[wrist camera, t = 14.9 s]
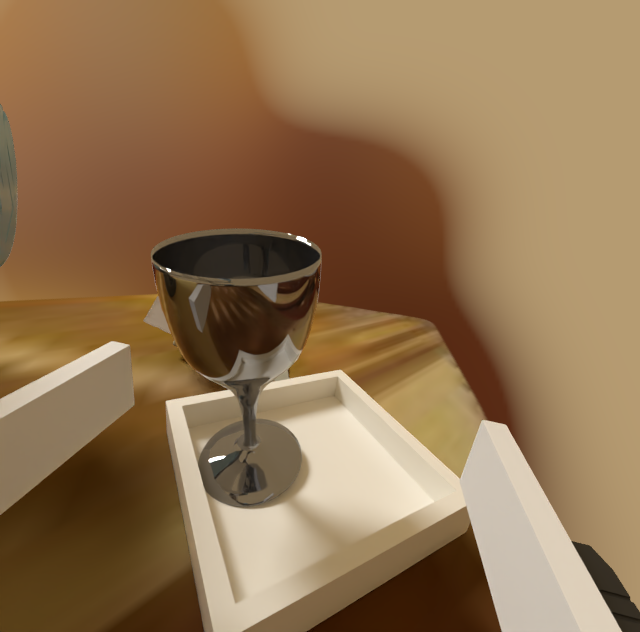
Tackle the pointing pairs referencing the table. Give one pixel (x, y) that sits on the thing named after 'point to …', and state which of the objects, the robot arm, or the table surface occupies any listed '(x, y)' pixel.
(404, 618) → the table surface
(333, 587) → the tray
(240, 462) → the silver metal goblet
